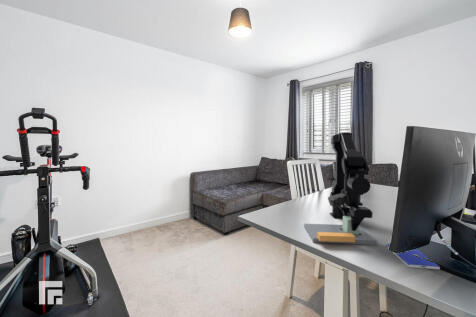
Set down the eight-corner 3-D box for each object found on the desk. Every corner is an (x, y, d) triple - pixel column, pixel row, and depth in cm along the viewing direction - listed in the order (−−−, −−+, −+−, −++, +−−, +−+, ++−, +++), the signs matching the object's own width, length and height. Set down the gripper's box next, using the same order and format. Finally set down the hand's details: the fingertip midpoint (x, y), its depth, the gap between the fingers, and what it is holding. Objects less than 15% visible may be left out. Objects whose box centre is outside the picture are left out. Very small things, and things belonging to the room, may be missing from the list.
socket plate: (304, 227, 92) (304, 223, 92) (357, 228, 90) (357, 225, 90) (313, 242, 78) (313, 238, 78) (376, 244, 76) (376, 240, 76)
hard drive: (386, 243, 75) (408, 263, 63) (412, 245, 74) (440, 266, 61) (385, 247, 75) (408, 268, 63) (411, 249, 74) (439, 271, 62)
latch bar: (317, 237, 78) (317, 232, 78) (351, 238, 77) (351, 233, 77) (319, 241, 75) (319, 235, 75) (355, 242, 74) (355, 236, 74)
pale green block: (342, 233, 86) (342, 215, 85) (353, 233, 86) (354, 216, 85) (346, 237, 82) (347, 219, 81) (358, 238, 81) (359, 220, 81)
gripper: (322, 183, 92) (321, 218, 93) (340, 193, 73) (338, 237, 75) (349, 183, 91) (348, 219, 92) (374, 194, 73) (372, 238, 74)
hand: (350, 227), depth 83 cm, fingers open, 5 cm apart
